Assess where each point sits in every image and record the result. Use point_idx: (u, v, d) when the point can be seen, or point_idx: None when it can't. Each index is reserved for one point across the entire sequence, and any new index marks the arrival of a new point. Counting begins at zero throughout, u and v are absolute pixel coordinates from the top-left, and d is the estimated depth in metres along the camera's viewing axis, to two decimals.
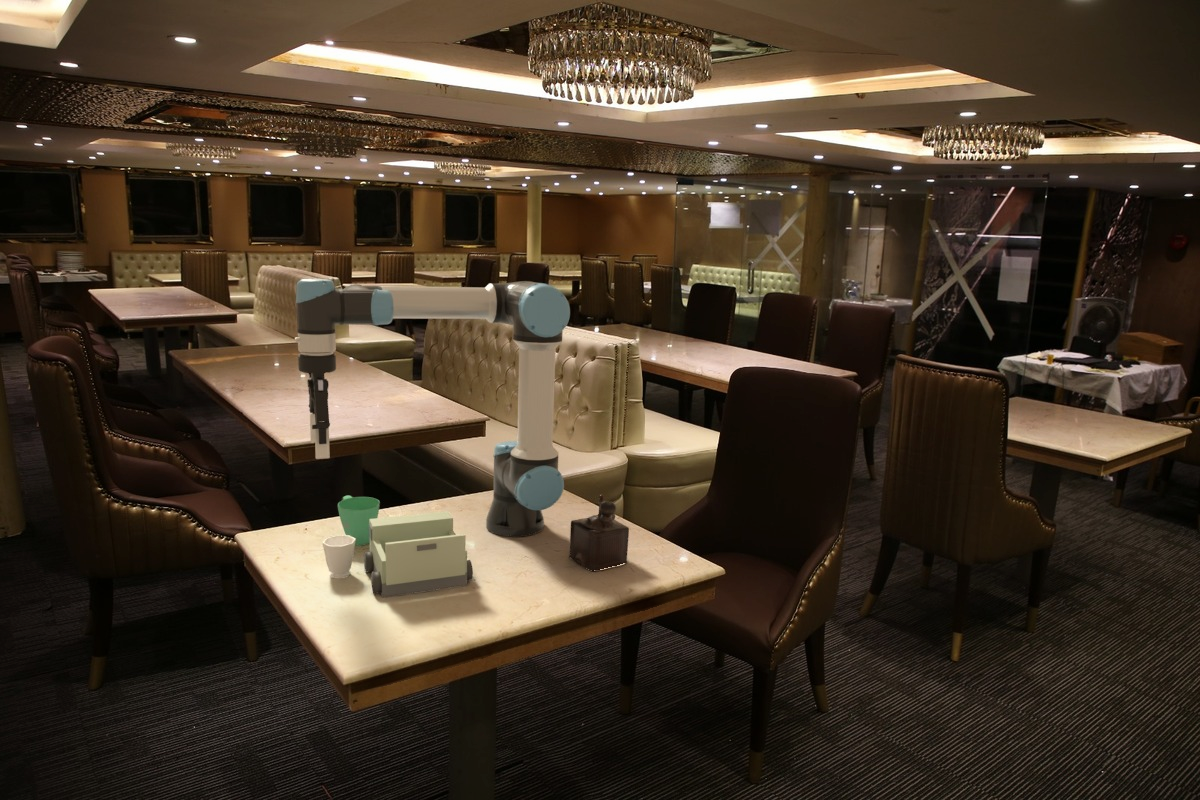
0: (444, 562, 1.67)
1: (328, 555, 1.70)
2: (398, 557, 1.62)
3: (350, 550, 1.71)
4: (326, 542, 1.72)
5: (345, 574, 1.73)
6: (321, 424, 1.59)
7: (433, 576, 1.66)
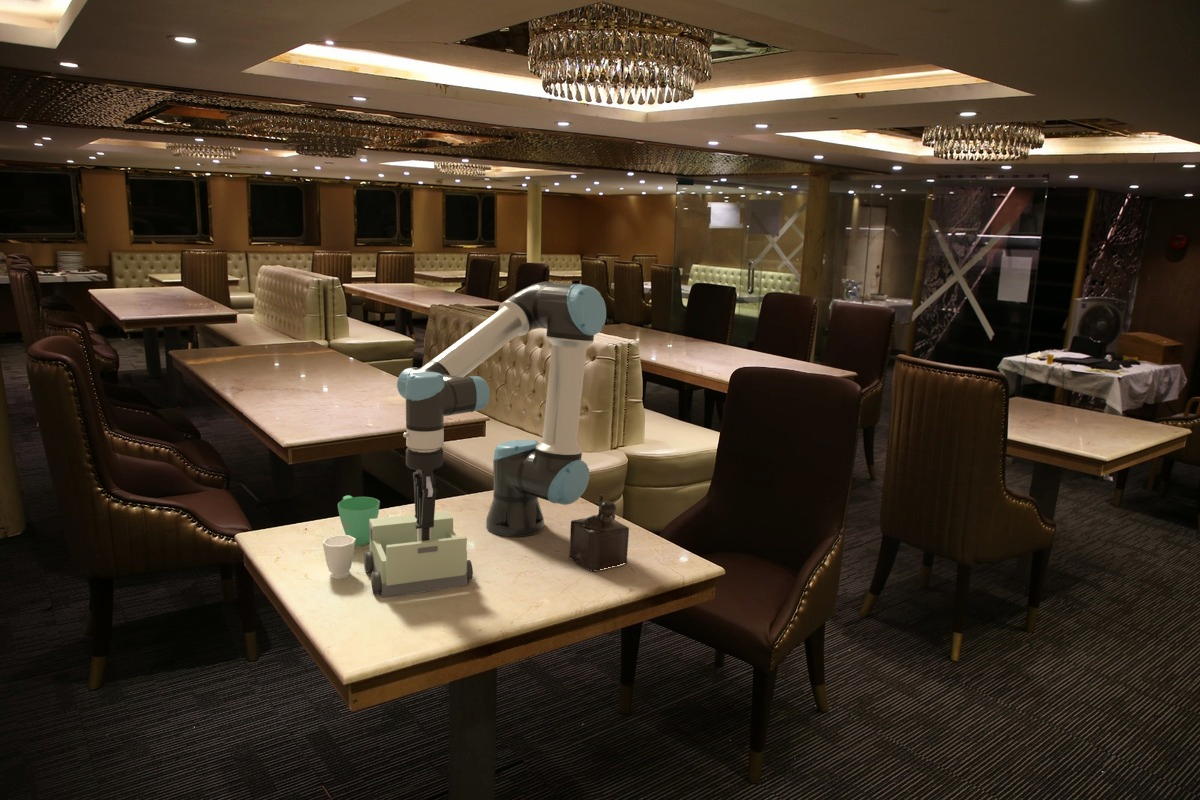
0: (444, 564, 1.66)
1: (329, 555, 1.70)
2: (399, 559, 1.61)
3: (350, 550, 1.71)
4: (326, 542, 1.72)
5: (345, 574, 1.73)
6: (426, 527, 1.61)
7: (433, 577, 1.66)
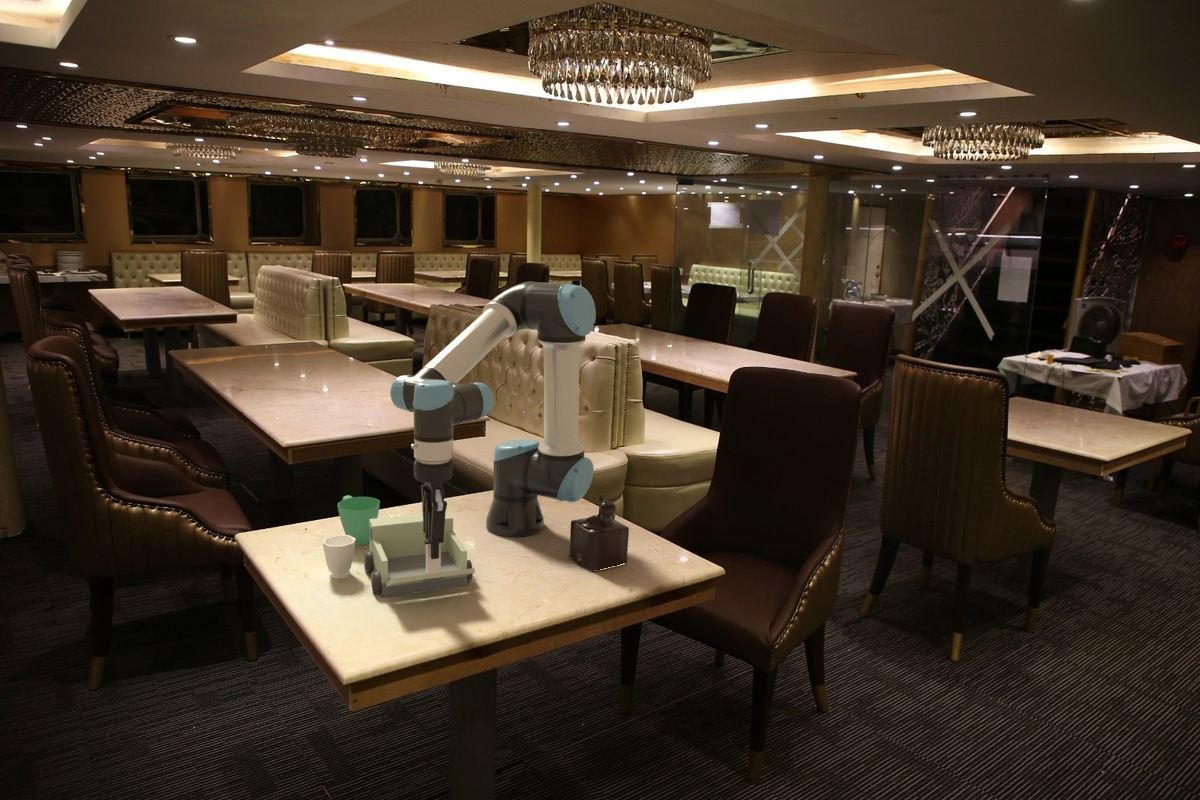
0: (447, 577, 1.64)
1: (328, 555, 1.70)
2: (402, 583, 1.58)
3: (350, 550, 1.71)
4: (326, 542, 1.72)
5: (345, 574, 1.73)
6: (435, 542, 1.54)
7: (433, 580, 1.66)
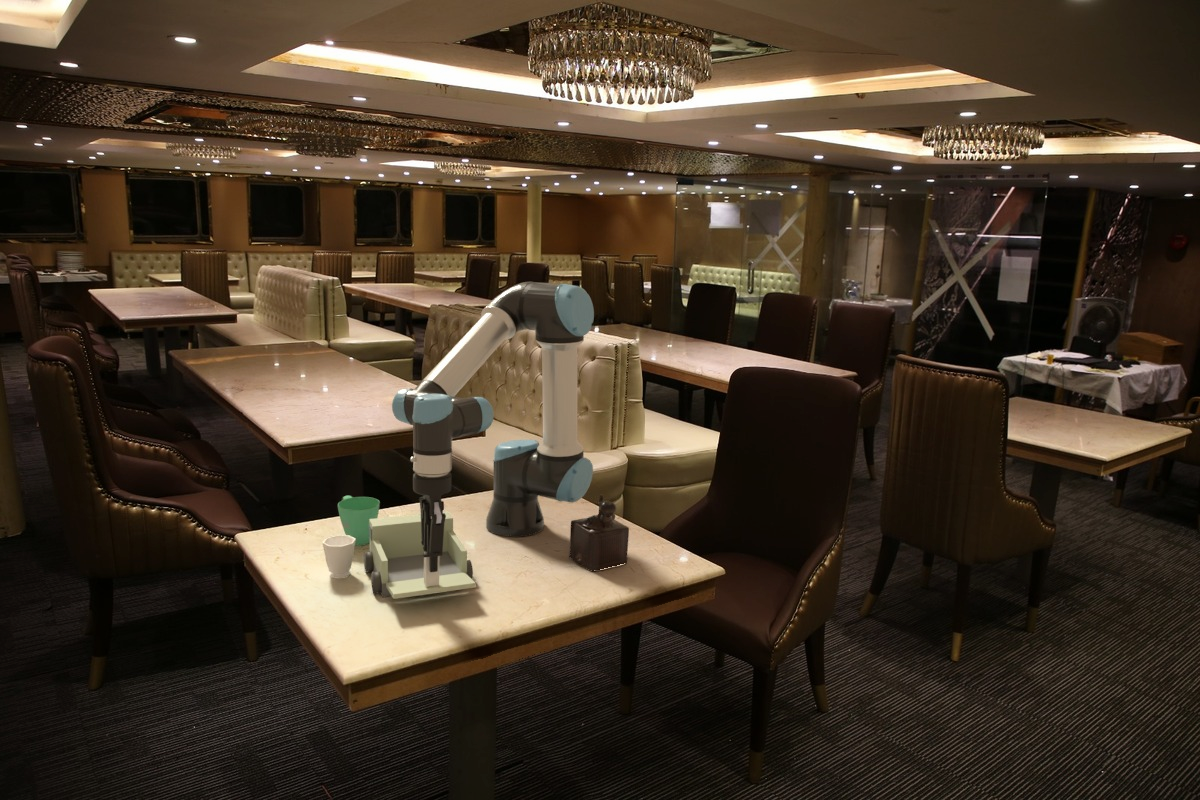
0: None
1: (328, 555, 1.70)
2: None
3: (350, 550, 1.71)
4: (326, 542, 1.72)
5: (345, 574, 1.73)
6: (434, 555, 1.55)
7: None
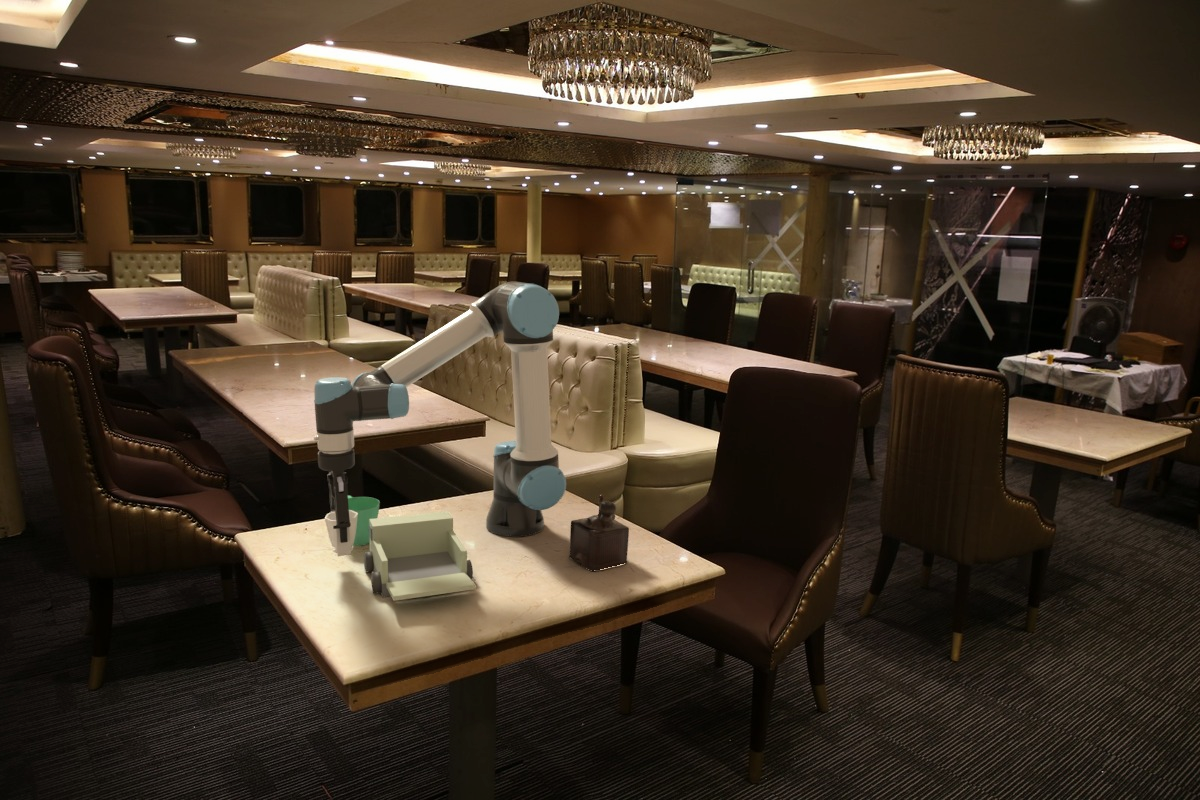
0: None
1: (331, 530, 1.69)
2: None
3: (352, 524, 1.70)
4: (328, 517, 1.71)
5: None
6: (342, 525, 1.65)
7: None
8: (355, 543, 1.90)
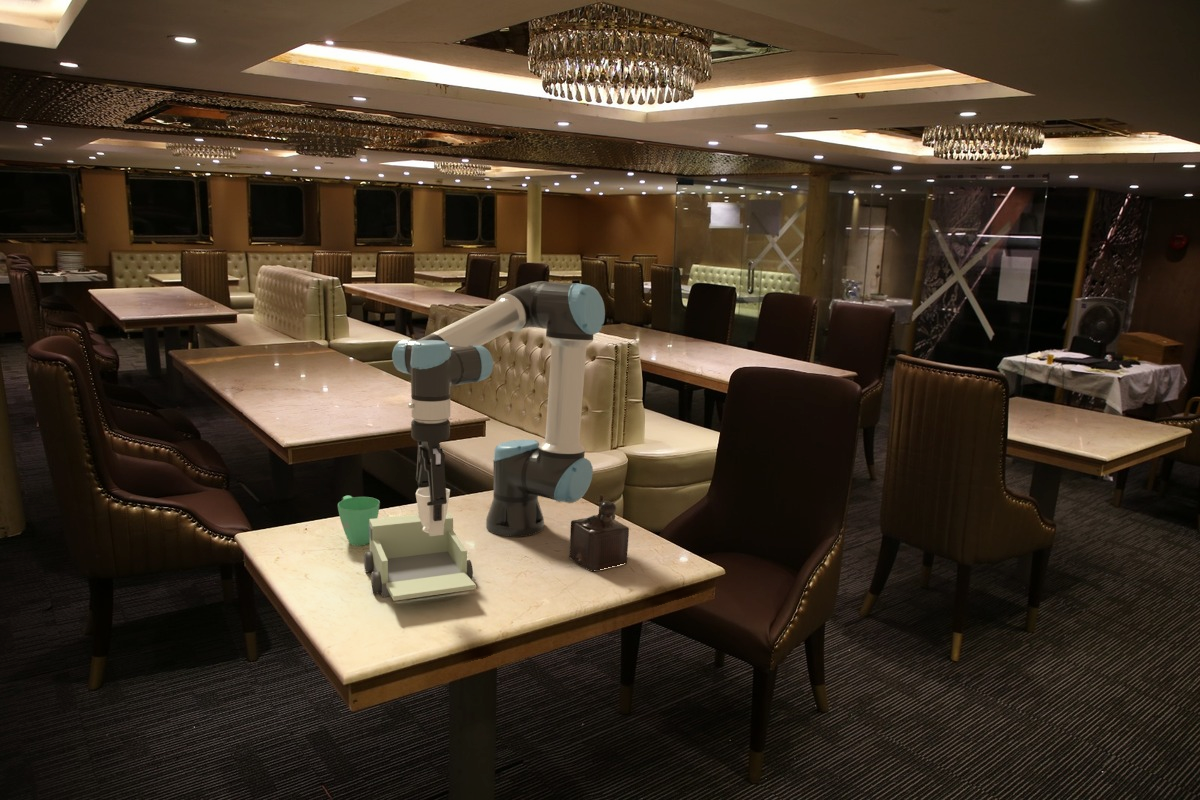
0: None
1: (422, 507, 1.54)
2: None
3: None
4: (418, 493, 1.57)
5: None
6: (438, 502, 1.50)
7: None
8: (355, 543, 1.90)
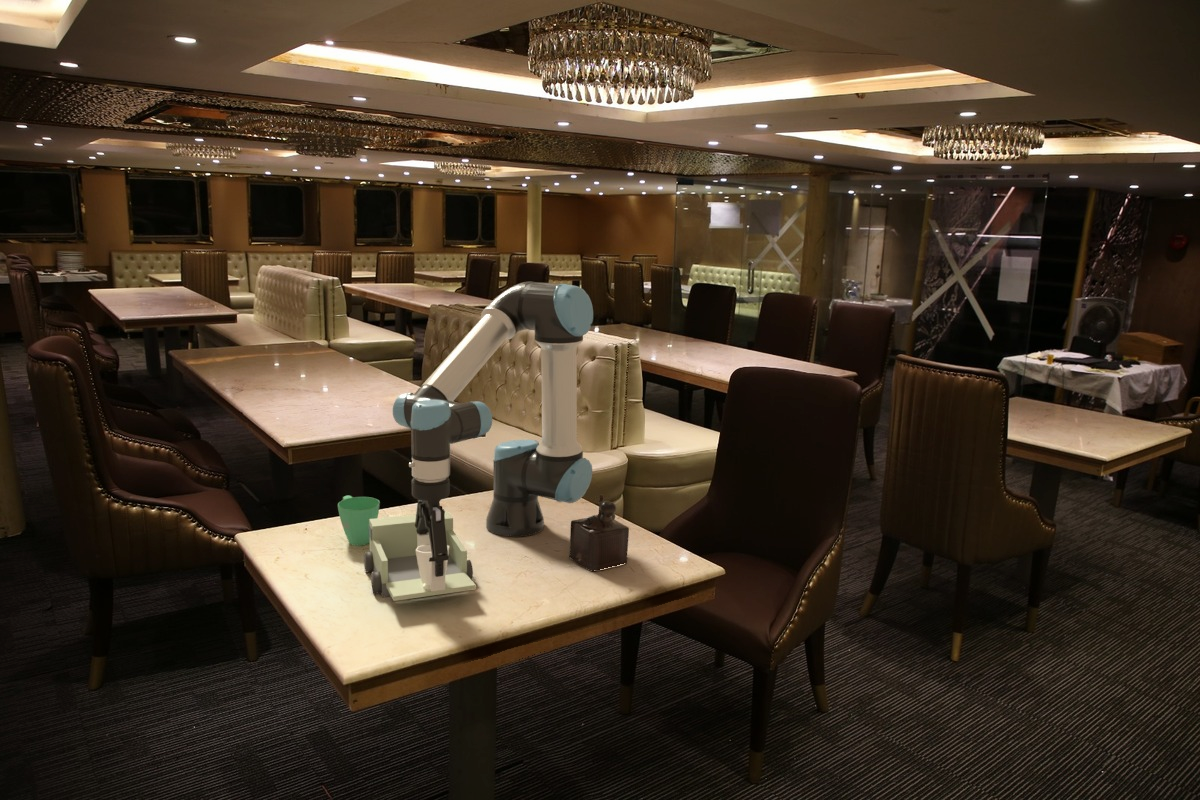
0: None
1: (422, 564, 1.57)
2: None
3: None
4: (418, 550, 1.60)
5: None
6: (440, 558, 1.51)
7: None
8: (355, 543, 1.90)
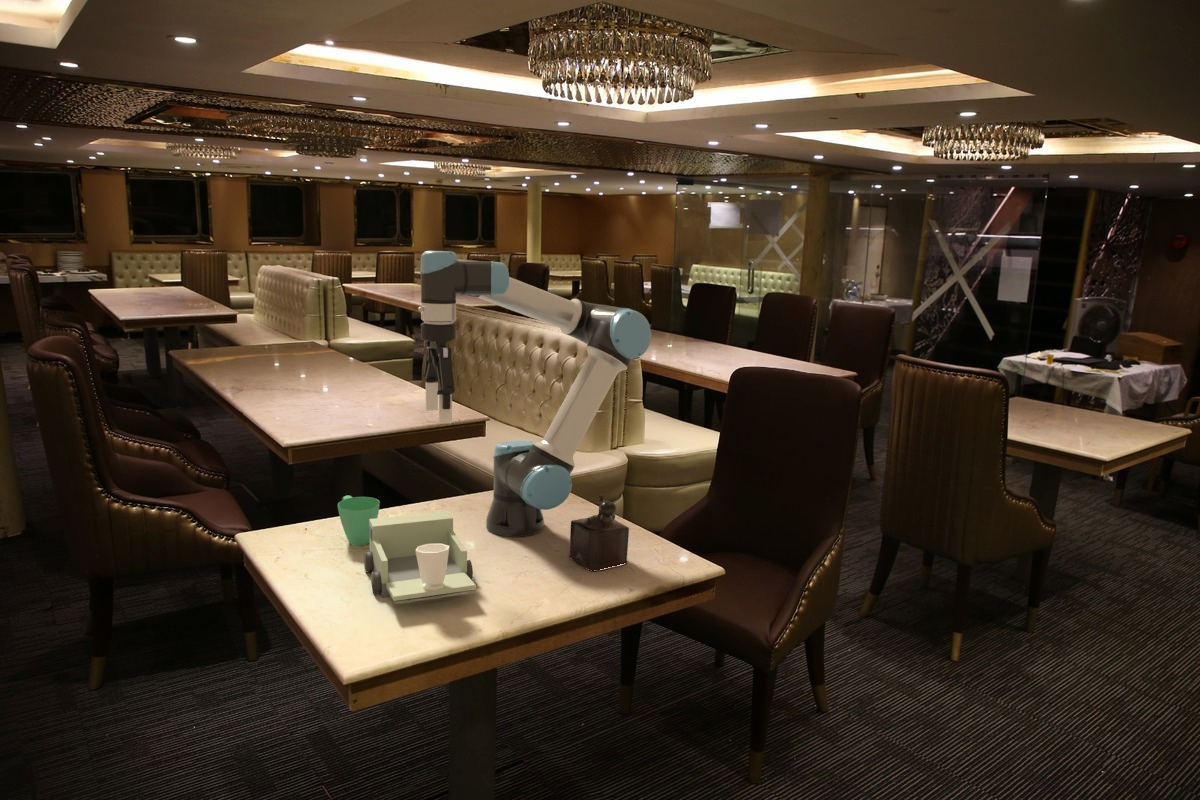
0: None
1: (422, 564, 1.57)
2: None
3: (445, 557, 1.59)
4: (418, 550, 1.60)
5: (439, 585, 1.60)
6: (447, 389, 1.66)
7: None
8: (355, 543, 1.90)
